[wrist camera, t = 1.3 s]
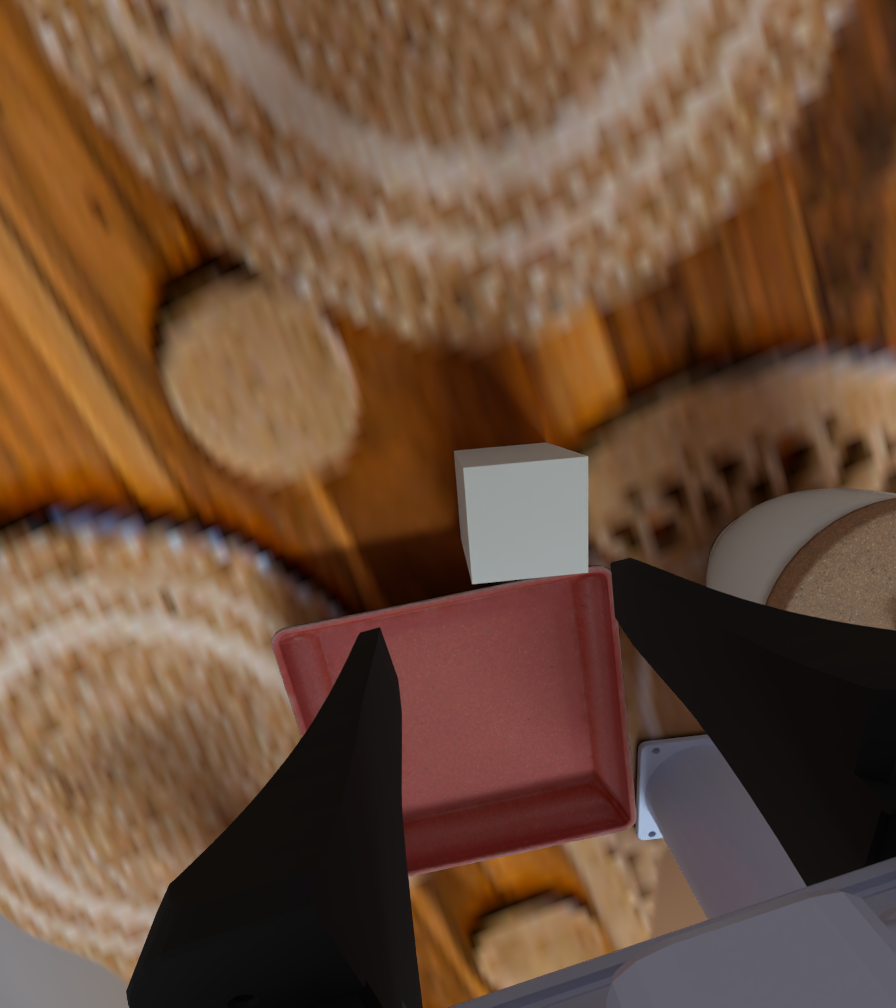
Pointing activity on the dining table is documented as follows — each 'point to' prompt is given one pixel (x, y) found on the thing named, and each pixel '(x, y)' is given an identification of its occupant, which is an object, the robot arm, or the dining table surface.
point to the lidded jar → (814, 555)
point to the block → (522, 511)
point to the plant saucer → (492, 713)
